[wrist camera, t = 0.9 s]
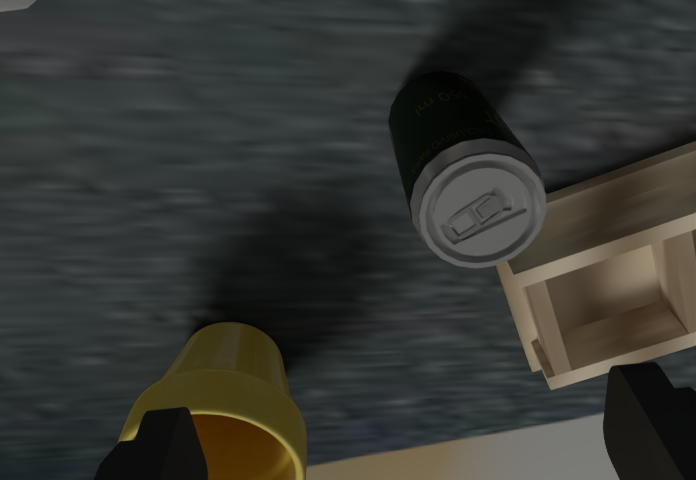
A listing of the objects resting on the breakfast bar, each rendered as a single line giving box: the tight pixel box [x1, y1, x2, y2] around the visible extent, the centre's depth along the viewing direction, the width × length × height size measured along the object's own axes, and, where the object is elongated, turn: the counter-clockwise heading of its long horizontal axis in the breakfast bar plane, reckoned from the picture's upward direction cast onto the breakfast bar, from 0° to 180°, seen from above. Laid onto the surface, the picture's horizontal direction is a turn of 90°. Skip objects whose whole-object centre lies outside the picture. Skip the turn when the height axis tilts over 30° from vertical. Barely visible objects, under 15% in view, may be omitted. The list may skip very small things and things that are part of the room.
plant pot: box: [117, 322, 307, 480], centre depth 39 cm, size 10×10×10 cm
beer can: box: [388, 71, 546, 268], centre depth 30 cm, size 5×5×12 cm
